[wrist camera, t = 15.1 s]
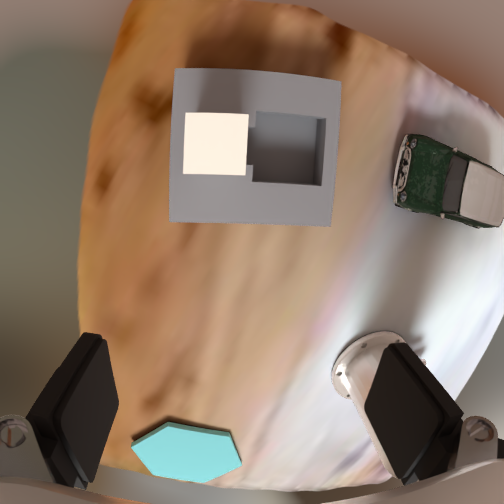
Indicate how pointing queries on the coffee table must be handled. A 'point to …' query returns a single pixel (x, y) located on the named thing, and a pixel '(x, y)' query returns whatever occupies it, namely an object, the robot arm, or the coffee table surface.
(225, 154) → the keyhole peg
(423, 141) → the miniature car
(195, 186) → the keyhole board
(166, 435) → the plaque
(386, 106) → the coffee table surface
